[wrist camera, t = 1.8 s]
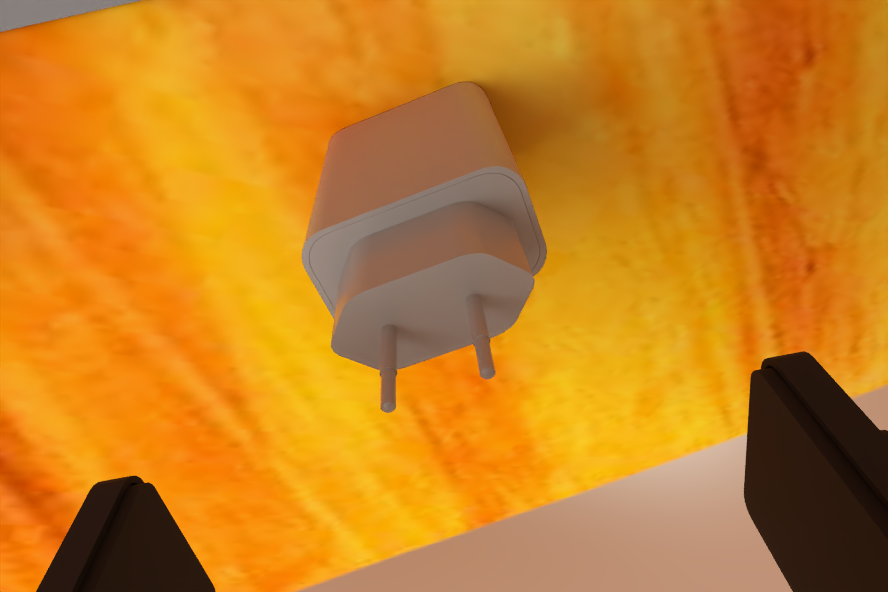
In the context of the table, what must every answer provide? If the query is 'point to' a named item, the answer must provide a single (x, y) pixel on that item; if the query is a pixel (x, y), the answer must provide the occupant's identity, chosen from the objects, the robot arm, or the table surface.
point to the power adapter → (422, 234)
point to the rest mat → (47, 10)
